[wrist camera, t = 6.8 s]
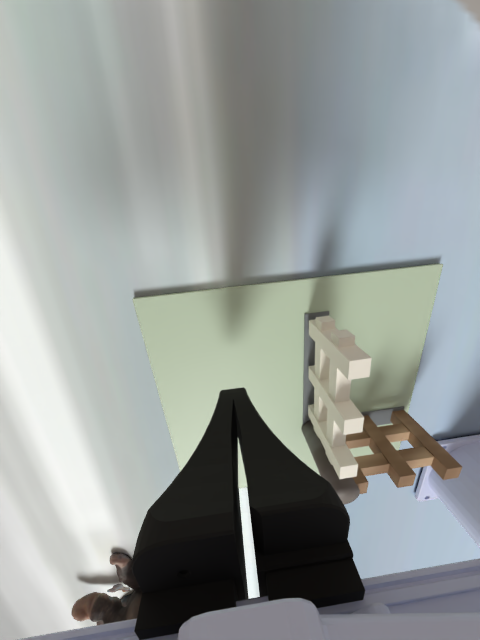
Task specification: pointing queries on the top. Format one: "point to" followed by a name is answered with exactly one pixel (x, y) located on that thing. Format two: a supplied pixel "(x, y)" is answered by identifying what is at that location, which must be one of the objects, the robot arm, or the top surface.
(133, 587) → the stuffed animal
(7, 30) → the top surface
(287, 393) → the card
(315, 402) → the folding fence panel
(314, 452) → the fixed fence panel
